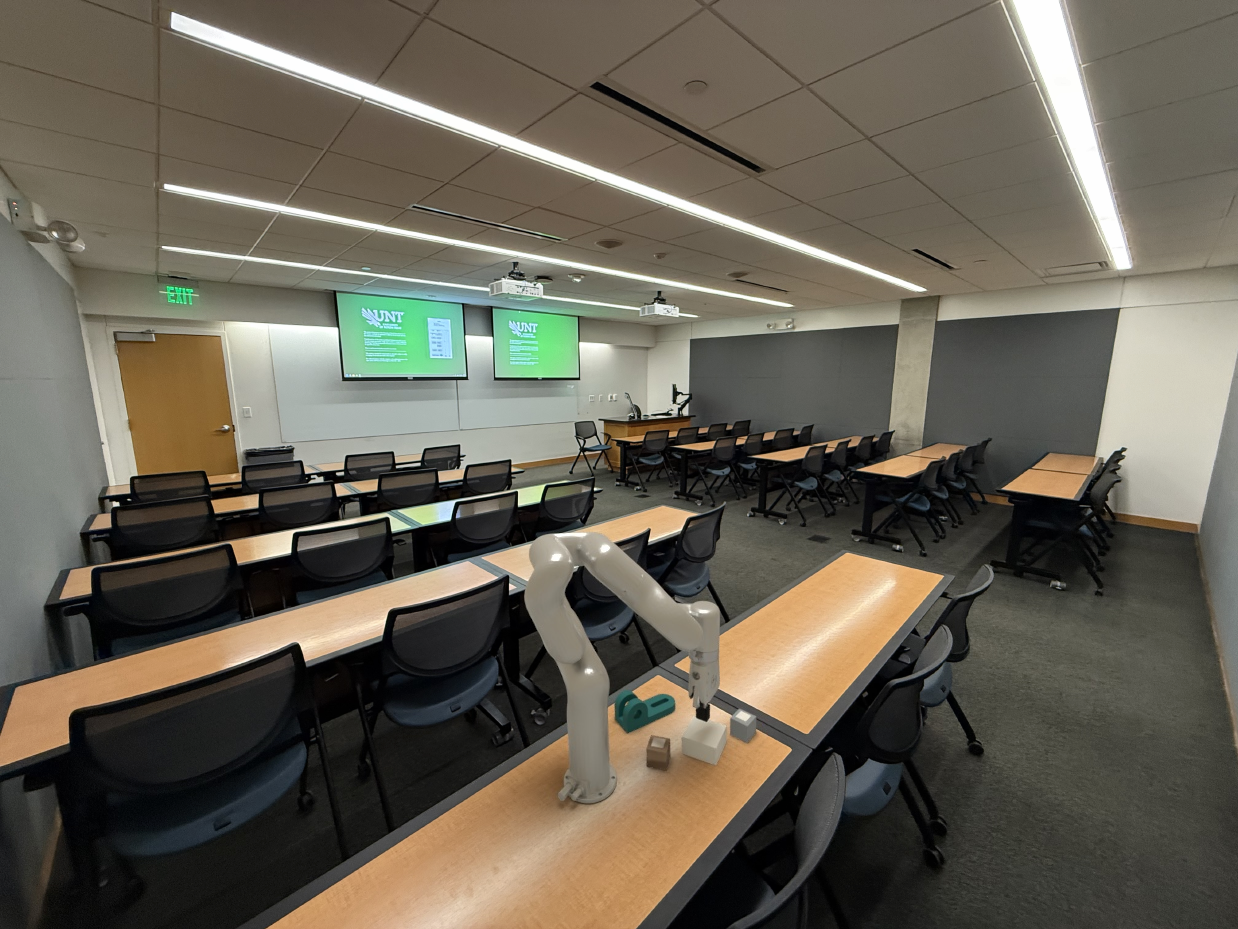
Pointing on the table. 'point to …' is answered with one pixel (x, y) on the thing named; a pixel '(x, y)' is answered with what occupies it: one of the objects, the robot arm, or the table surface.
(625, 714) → the bracket
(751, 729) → the slate block
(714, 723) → the plain block
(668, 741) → the walnut block
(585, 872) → the table surface
